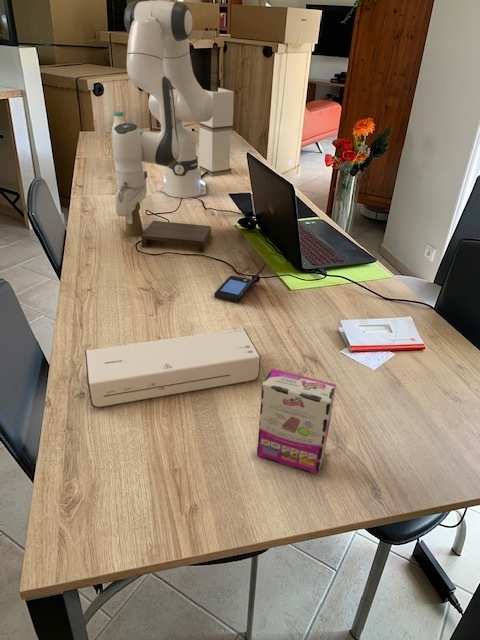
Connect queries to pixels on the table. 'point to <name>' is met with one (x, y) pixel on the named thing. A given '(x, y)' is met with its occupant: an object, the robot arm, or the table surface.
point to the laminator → (170, 367)
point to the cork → (134, 223)
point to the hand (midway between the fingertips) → (133, 219)
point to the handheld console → (235, 288)
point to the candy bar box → (294, 420)
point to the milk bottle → (117, 119)
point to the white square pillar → (217, 135)
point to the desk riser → (177, 233)
